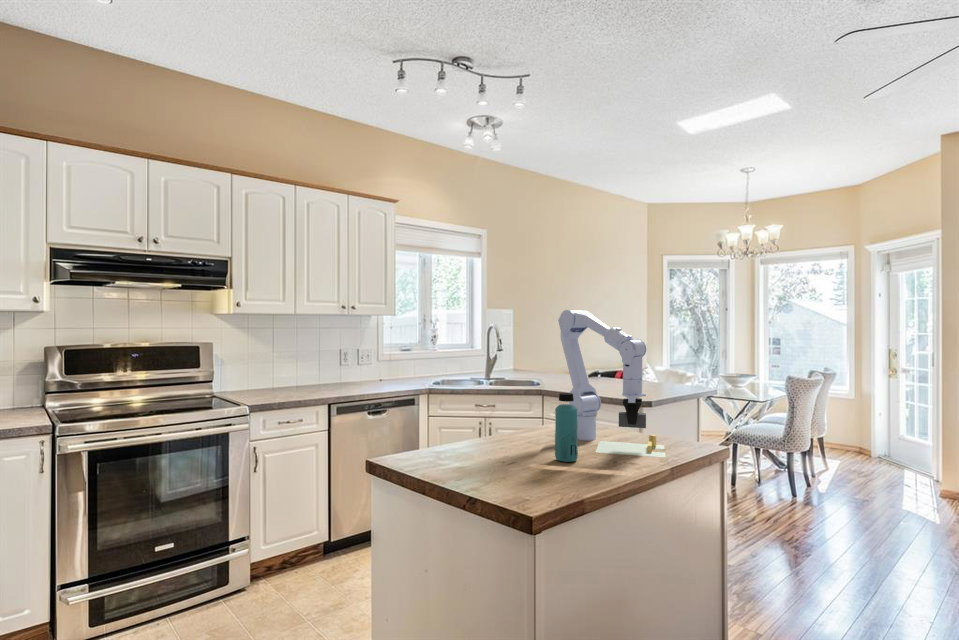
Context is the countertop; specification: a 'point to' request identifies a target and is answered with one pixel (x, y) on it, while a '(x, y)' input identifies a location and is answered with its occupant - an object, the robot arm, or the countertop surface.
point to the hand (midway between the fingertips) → (632, 423)
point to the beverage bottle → (566, 429)
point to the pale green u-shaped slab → (631, 448)
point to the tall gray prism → (624, 423)
